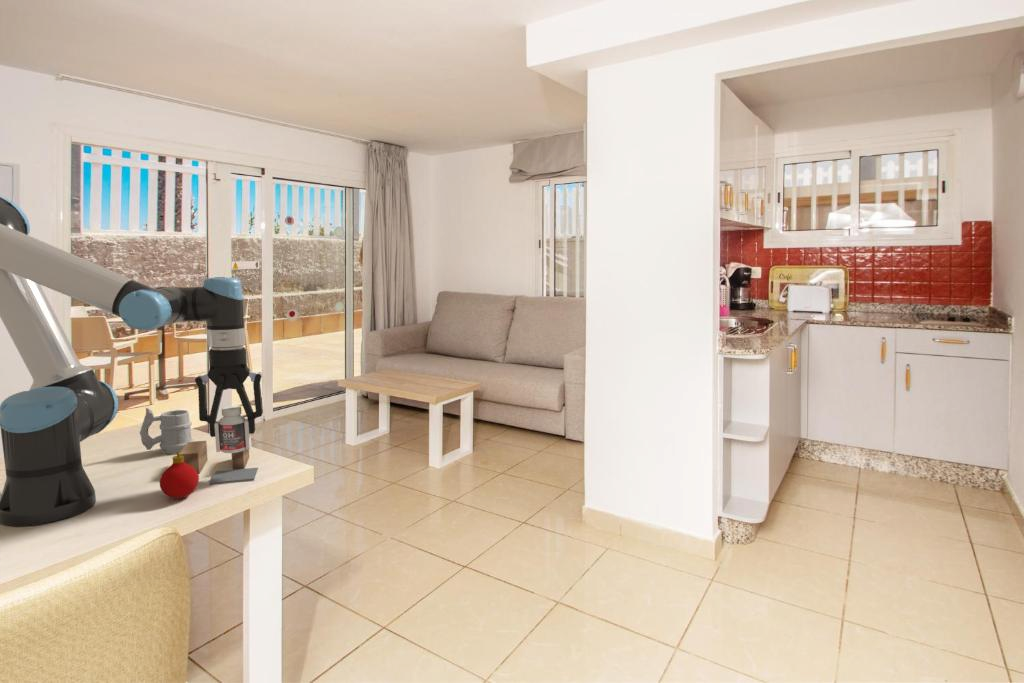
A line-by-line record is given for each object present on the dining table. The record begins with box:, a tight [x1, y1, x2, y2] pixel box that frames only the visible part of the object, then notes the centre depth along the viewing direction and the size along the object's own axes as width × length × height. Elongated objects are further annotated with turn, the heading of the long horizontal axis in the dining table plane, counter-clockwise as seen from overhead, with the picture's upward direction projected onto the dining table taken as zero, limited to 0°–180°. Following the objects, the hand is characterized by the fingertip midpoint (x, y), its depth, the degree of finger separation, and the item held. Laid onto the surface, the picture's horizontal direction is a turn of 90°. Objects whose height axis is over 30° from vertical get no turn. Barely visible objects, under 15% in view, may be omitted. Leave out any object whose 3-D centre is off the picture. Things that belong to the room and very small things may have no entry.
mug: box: [139, 407, 195, 455], centre depth 152 cm, size 8×12×12 cm, turn 125°
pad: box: [209, 467, 259, 485], centre depth 135 cm, size 9×8×1 cm
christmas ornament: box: [159, 451, 200, 499], centre depth 123 cm, size 7×7×10 cm
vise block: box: [179, 440, 250, 475], centre depth 142 cm, size 14×10×5 cm
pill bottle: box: [218, 405, 246, 454], centre depth 134 cm, size 5×5×10 cm
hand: (234, 448), depth 135 cm, fingers closed on pill bottle, 5 cm apart
